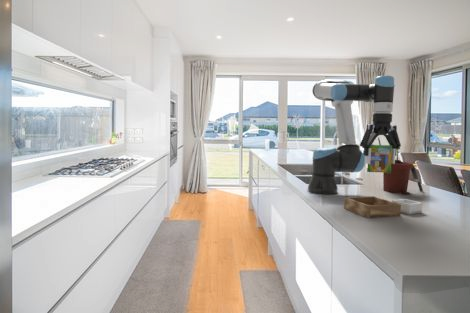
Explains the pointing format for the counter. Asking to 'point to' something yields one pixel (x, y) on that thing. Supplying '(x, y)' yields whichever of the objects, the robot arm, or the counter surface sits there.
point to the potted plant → (400, 177)
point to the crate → (372, 206)
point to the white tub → (409, 206)
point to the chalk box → (380, 158)
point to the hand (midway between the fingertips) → (379, 163)
